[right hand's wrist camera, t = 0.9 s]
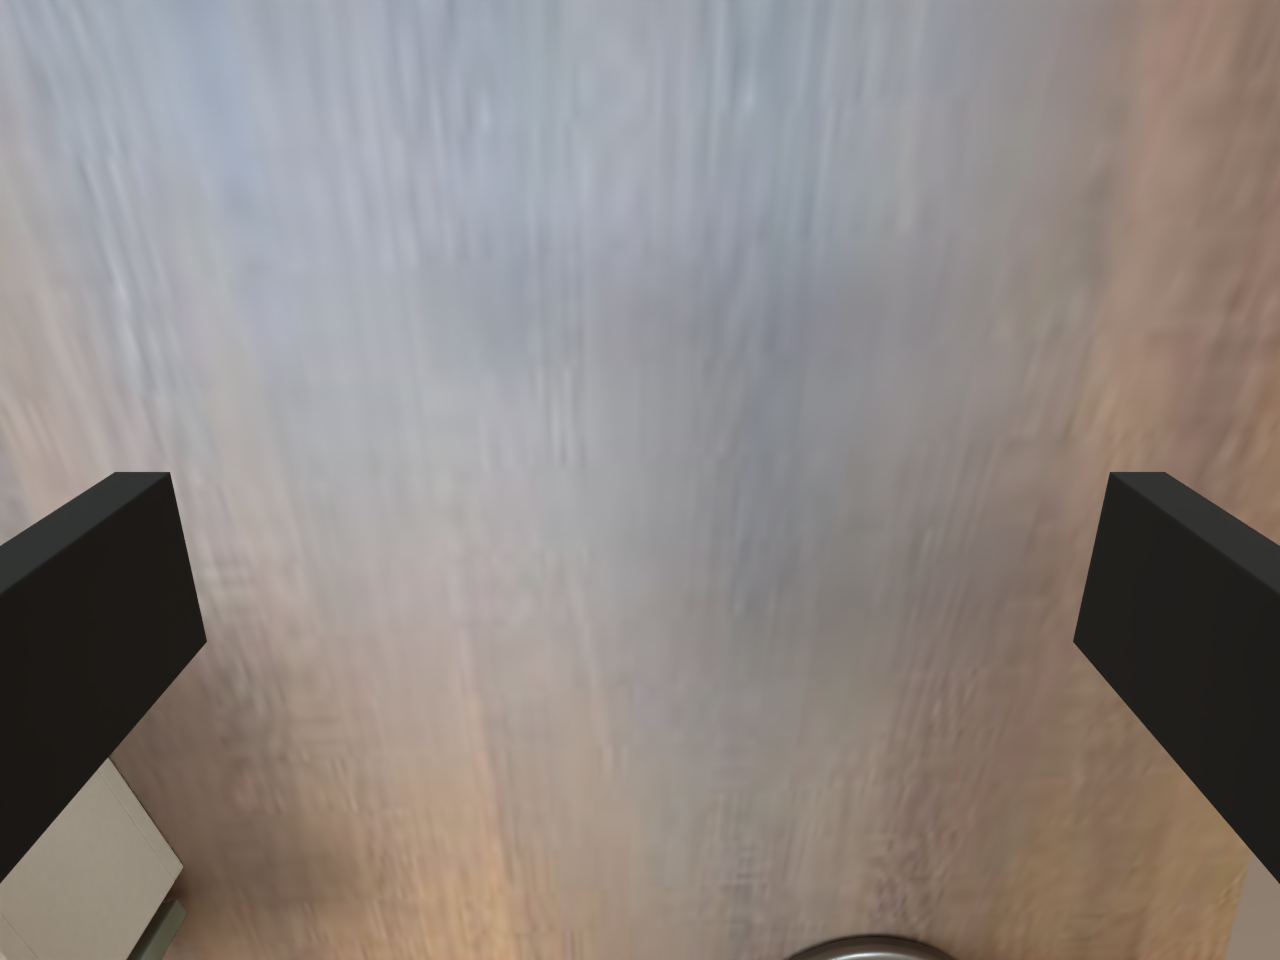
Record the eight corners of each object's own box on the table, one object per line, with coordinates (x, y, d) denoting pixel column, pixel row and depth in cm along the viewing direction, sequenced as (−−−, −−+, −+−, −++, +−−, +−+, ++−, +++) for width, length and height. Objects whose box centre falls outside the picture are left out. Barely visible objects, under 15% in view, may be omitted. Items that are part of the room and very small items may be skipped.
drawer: (236, 981, 53) (165, 1130, 45) (95, 1015, 54) (3, 1166, 46) (27, 685, 44) (-103, 804, 37) (-133, 733, 46) (-292, 858, 38)
